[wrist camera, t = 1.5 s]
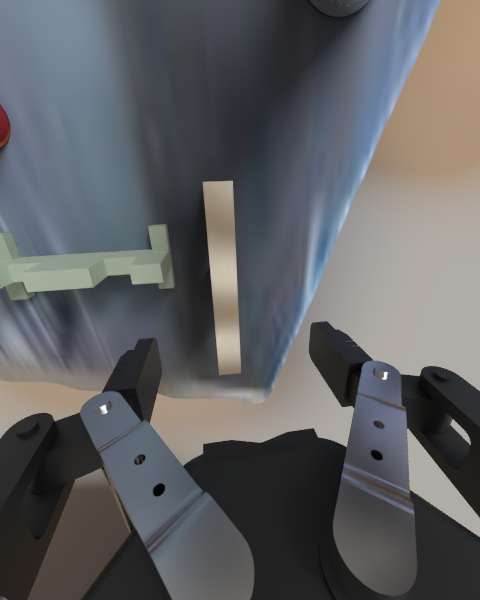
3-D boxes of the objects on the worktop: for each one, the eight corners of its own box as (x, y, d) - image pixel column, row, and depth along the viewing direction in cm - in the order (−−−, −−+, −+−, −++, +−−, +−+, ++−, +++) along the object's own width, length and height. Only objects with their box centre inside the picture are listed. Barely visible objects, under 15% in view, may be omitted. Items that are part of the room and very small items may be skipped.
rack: (-8, 232, 29) (-79, 245, 22) (166, 224, 31) (155, 233, 24) (19, 296, 32) (-36, 325, 25) (175, 284, 34) (167, 308, 27)
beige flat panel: (203, 187, 30) (202, 181, 16) (220, 187, 30) (232, 180, 17) (214, 307, 36) (219, 375, 23) (227, 306, 37) (241, 372, 23)
